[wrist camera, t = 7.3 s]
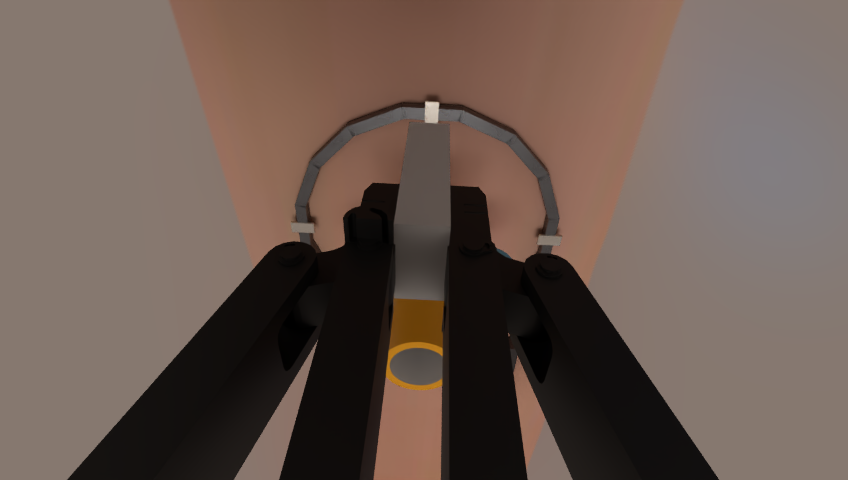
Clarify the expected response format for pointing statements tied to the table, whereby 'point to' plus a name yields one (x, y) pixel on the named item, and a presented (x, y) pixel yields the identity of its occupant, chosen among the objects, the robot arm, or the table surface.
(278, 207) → the table surface
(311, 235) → the centring ring
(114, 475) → the robot arm
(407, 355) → the cylinder
